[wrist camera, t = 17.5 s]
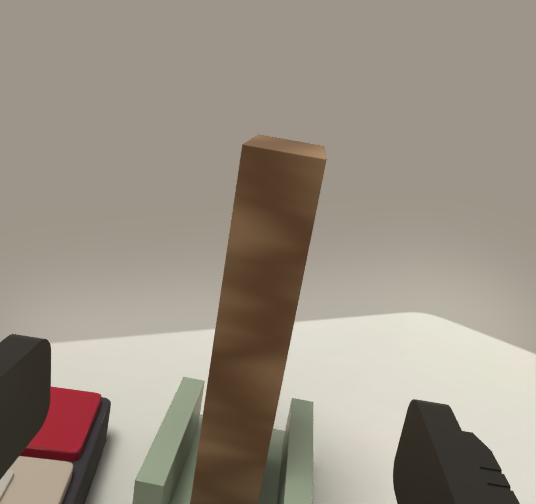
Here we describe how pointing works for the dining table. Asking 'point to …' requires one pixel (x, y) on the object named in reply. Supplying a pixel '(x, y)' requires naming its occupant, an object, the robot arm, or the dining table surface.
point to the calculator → (60, 452)
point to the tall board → (256, 315)
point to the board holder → (186, 448)
